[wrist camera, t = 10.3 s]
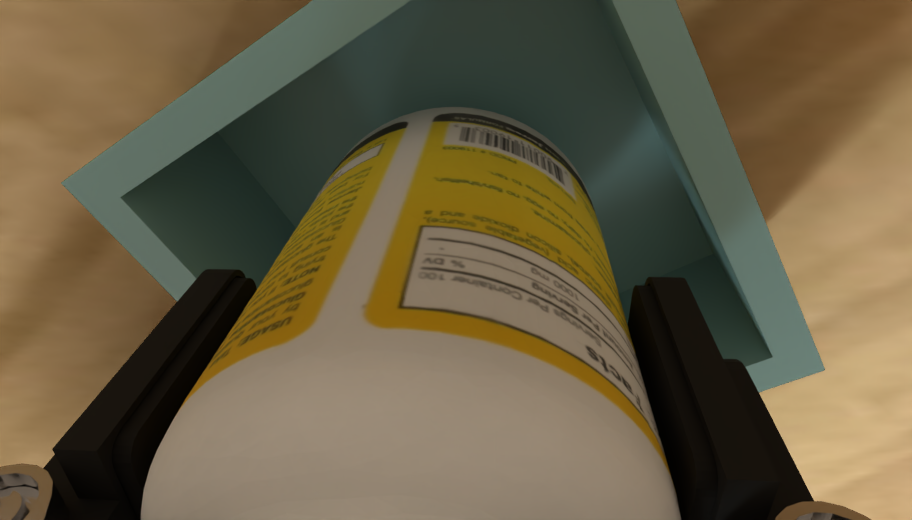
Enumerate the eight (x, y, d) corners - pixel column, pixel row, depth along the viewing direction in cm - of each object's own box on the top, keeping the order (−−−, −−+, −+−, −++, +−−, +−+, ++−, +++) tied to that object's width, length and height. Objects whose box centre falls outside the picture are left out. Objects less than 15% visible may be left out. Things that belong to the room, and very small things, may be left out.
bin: (743, 248, 16) (825, 370, 12) (414, 386, 20) (388, 517, 16) (564, -165, 12) (593, -203, 8) (184, 107, 16) (61, 183, 11)
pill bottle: (369, 351, 16) (153, 1025, 6) (287, 128, 13) (-360, 778, 3) (608, 323, 15) (782, 1087, 5) (582, 72, 12) (884, 803, 2)
